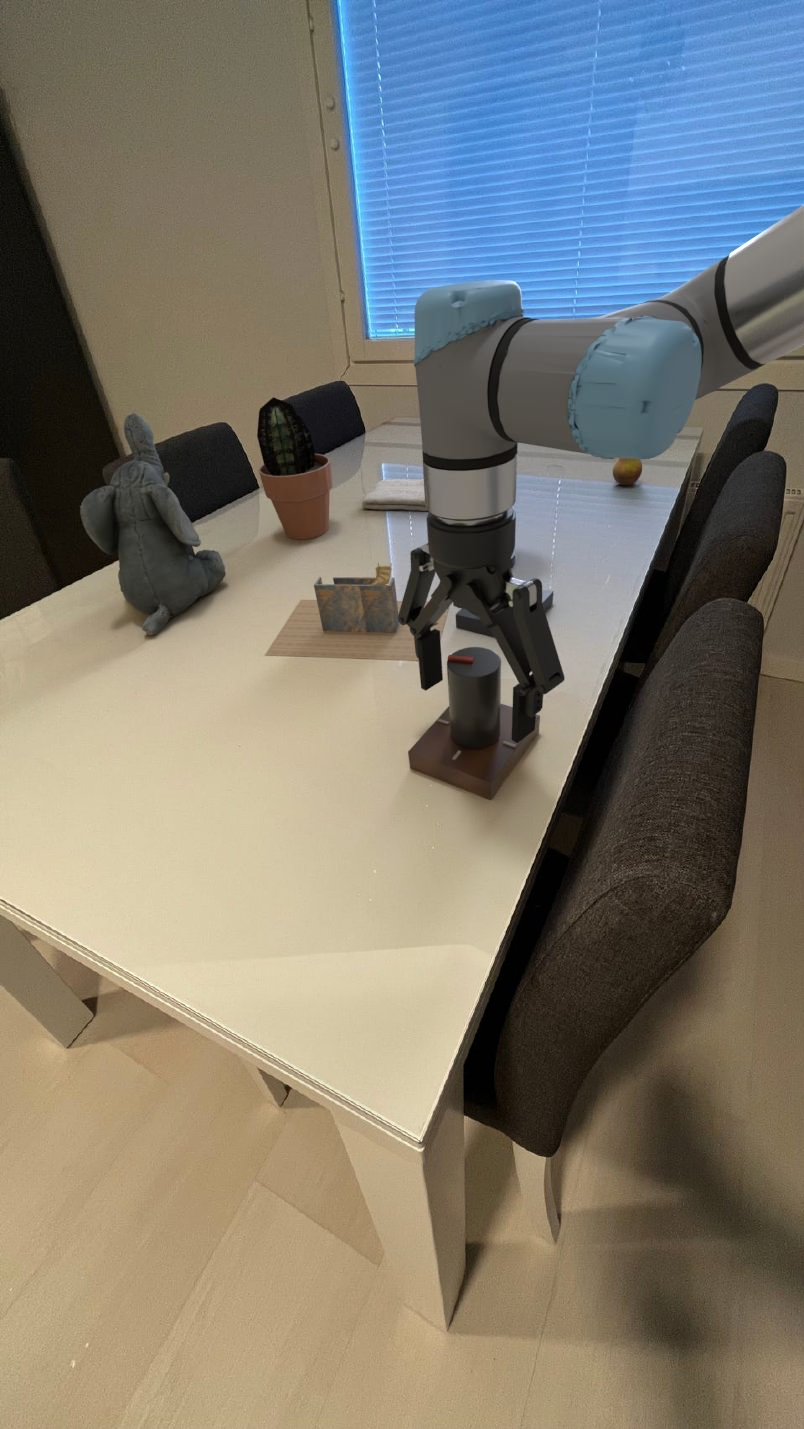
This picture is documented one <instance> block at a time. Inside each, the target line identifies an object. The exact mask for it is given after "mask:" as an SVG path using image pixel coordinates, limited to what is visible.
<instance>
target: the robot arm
mask: <svg viewBox="0 0 804 1429" xmlns="http://www.w3.org/2000/svg"><path fill="white" fill-rule="evenodd" d="M522 294H523V293H522V290H521V287H520V285H519V284H518V283H517V282H515V281H514V280H510V279H509V280H503V279H489V280H488V279H487V280H477V281H468V282H457V283H451V284H446V285H440V286H436V287H431V288H429V289H427V290H425V291H423V293H421V294H420V295H419V297H418V299H417V301H416V303H415V306H414V358H413V366H414V368H415V377H416V388H417V397H418V409H419V422H420V434H421V446H422V447H421V449H422V451H421V453H422V474H423V479H424V494H425V507H426V509H427V510H428V512H429V513H428V514H427V515H426V531H427V532H426V534H427V542H426V543H425V544H423V545H421V546H418V547H417V548H414V549H412V550H411V551H410V572H409V575H408V579H407V583H406V586H405V590H404V593H403V597H402V600H401V601H402V604H401V608H400V611H399V615H398V621H399V623H400V624H401V625H403V626H404V625H408V626H409V627H410V632H411V634H412V635H413V636H414V643H415V653H416V656H417V658H418V659H419V660H418V670H419V679H420V680H419V681H420V688H421V690H424V691H425V692H427V691H428V690H429V689H432V688H433V687H434V686H436V685H437V684H439V683H440V682H442V681H443V680H444V675H443V661H442V644H441V643H442V642H441V639H440V631H439V630H437V629H433V630H432V631H431V627H433V626H435V625H437V624H438V623H436V622H437V621H438V620H439V619H440V617H441V616H442V615H443V614H444V612H445V611H446V610H447V609H448V607H449V608H450V606H451V605H452V604H453V605H452V606H453V607H456V608H458V609H462V608H463V609H466V610H468V611H469V612H470V613H472V614H474V615H476V616H479V618H480V620H481V622H482V623H483V625H484V626H485V627H487V628H490V629H491V631H492V633H493V635H494V639H495V641H496V643H497V644H498V646H499V648H500V650H501V652H502V654H503V655H504V657H505V659H506V662H507V663H508V665H509V667H510V669H511V671H512V673H513V674H514V677H515V678H516V680H517V682H518V683H517V684H516V685H514V686H513V687H512V707H513V708H512V741H514V742H516V743H519V742H520V741H521V740H523V739H524V738H525V737H526V736H528V735H529V734H530V733H532V732H533V731H534V730H535V720H536V714H537V715H538V713H540V712H541V711H542V710H543V705H544V704H543V703H544V695H547V694H548V693H551V691H552V690H554V689H555V688H556V687H558V686H559V685H560V684H562V683H563V682H565V678H566V677H565V673H564V671H563V667H562V664H561V660H560V657H559V654H558V651H557V647H556V643H555V640H554V638H553V635H552V631H551V627H550V624H549V621H548V617H547V615H546V612H545V611H544V608H543V605H542V589H543V583H542V581H541V579H540V578H537V577H533V578H531V579H529V580H528V581H526V580H522V579H519V578H516V577H514V575H513V573H512V568H510V560H511V557H512V554H513V552H514V550H515V548H516V526H517V522H516V521H517V512H516V510H515V508H514V507H513V506H514V505H515V504H516V501H517V476H518V474H517V473H518V472H517V469H518V468H517V467H518V447H519V446H518V444H524V445H531V446H537V447H543V448H549V449H555V450H561V451H566V452H573V453H580V454H586V455H591V456H592V457H594V458H601V459H602V460H614V459H619V458H627V459H640V460H650V459H654V458H656V457H659V456H660V455H663V453H665V452H666V451H667V450H669V449H670V448H671V447H672V445H673V444H674V443H675V440H676V437H677V435H678V434H680V433H681V432H682V431H683V430H684V428H685V426H686V424H687V422H688V420H689V418H690V415H691V413H692V410H693V407H694V404H695V401H697V400H698V399H701V398H703V397H704V396H707V395H709V394H711V393H714V392H716V391H717V390H719V389H721V388H722V387H724V386H726V385H728V384H730V383H732V382H734V381H737V380H738V379H740V378H742V377H744V376H747V375H749V374H751V373H753V372H754V371H757V370H758V369H759V368H761V367H763V366H765V365H767V364H769V363H771V362H773V361H775V360H777V359H779V358H781V357H783V356H786V355H788V354H789V353H791V352H794V351H795V350H798V349H800V348H802V347H804V204H802V205H801V206H800V207H798V208H797V209H795V210H794V211H792V212H790V213H789V214H787V215H786V216H784V217H783V218H781V219H780V220H778V221H777V222H775V223H774V224H772V225H771V226H769V227H768V228H766V229H765V230H763V231H762V232H760V233H759V234H758V235H756V236H754V237H753V238H750V240H748V241H746V242H745V243H744V244H742V245H741V246H739V247H738V248H736V249H734V250H733V251H731V252H730V253H729V254H728V255H727V256H725V257H723V258H722V259H720V260H718V261H716V262H715V263H713V264H711V265H710V266H708V267H707V268H705V269H704V270H702V271H701V272H699V273H698V274H696V275H695V276H693V277H691V278H690V279H689V280H687V281H686V282H684V283H683V284H681V285H680V286H678V287H676V288H675V289H673V290H672V291H670V292H668V293H666V294H665V295H662V296H660V297H656V298H654V299H653V298H652V299H650V300H646V301H644V302H642V303H639V304H636V305H632V306H629V307H625V308H623V309H622V308H621V309H619V310H615V311H612V312H609V313H606V314H603V315H600V316H594V317H587V318H583V317H582V318H549V319H547V318H546V319H545V318H544V319H540V318H532V317H527V316H525V315H524V314H525V311H524V307H523V296H522ZM435 575H437V578H438V580H439V584H438V585H437V587H436V588H435V590H434V591H433V592H432V593H431V595H430V597H431V598H430V599H429V600H428V601H427V599H428V597H429V593H430V590H431V588H432V584H433V581H434V578H435ZM515 578H516V579H515ZM426 602H428V603H427V605H426V606H425V603H426ZM499 603H500V604H501V606H502V610H501V611H499V612H497V613H496V614H492V612H491V610H492V609H494V608H496V607H497V606H498V604H499ZM424 606H425V607H424Z"/></svg>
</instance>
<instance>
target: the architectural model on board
mask: <svg viewBox="0 0 804 1429" xmlns="http://www.w3.org/2000/svg"><path fill="white" fill-rule="evenodd" d="M392 566H393V564H392V562H390V565H380V562H377V567H375V576H374V577H370V576H367V577H365V576H362V577H361V576H358V577H357V576H354V577H353V576H333V578H332V580H333V584H332V583H331V584H330V583H329V584H326V583H324V584H323V580H322V576H318V577H317V579H316V581H315V583H314V584H313V589H314V593H315V599H300V600H299V602H298V603H297V605H296V606H295V608H294V609H293V611H292V612H291V614H290V616H289V617H288V618H287V619H286V622H285V623H284V625H283V626H282V628H281V629H280V631H279V633H278V634H277V635H276V637H275V639H274V640H273V641H272V643H271V645H270V646H269V647H268V649H267V651H266V652H265V654H264V655H265V656H280V657H281V656H282V657H283V656H284V657H286V656H287V657H309V658H310V657H311V658H314V657H315V658H336V659H337V658H342V659H368V660H369V659H370V660H398V661H419V659H418V658H417V656H416V653H415V643H414V636H413V635H412V634H411V632H410V627H409V626H408V625H404V626H403V625H401V624H400V623H399V621H398V615H399V611H400V608H401V604H402V600H398V598H397V589H396V580H395V576H393V577H391V576H392V575H391V574H392ZM428 602H429V601H426V603H425V606H426V605H427V603H428ZM425 606H424V607H425ZM449 609H450V606H449V607H448V609H447V610H446V611H445V612H444V614H443V615H442V616H441V617H440V619H439V620H438V621H437V622H436V623H438V624H437V625H435V626H433V627H431V631H432V630H433V629H437V630H439V631H440V640H441V639H442V635H443V632H444V628H445V624H446V621H447V618H448V613H449Z"/></svg>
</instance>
